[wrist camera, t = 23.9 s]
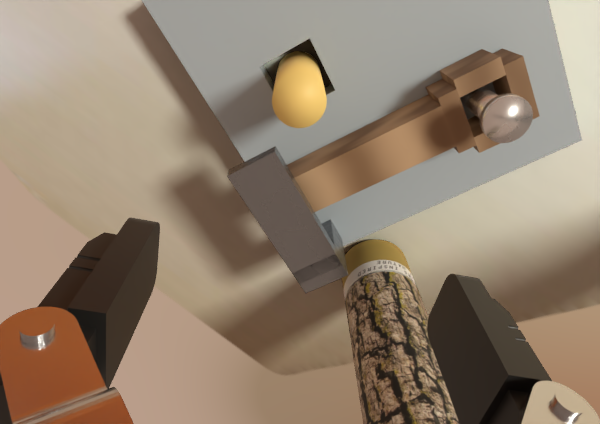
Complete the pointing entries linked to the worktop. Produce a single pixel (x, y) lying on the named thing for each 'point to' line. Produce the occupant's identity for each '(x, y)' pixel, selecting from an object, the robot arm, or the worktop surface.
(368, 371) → the brown bark-textured cylinder
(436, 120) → the link
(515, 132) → the pintle
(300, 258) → the keeper
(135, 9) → the worktop surface
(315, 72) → the pin
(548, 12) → the board
